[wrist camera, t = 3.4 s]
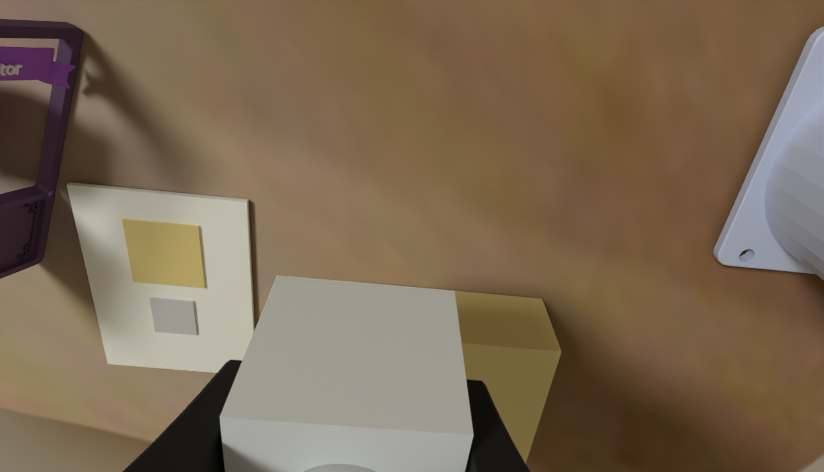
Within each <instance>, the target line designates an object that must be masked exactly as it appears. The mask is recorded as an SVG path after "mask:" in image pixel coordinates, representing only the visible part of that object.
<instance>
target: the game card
mask: <svg viewBox="0 0 824 472" xmlns="http://www.w3.org/2000/svg"><path fill="white" fill-rule="evenodd" d="M0 38H46V39H59V46H58V52H57V59H56V62H54V61H53V56H54V50H55V49H54V48H25V47H0V81H7V80H39V81H42V82H45V83H48V84H52V91H51V97H50V103H49V110H48V116H47V122H46V129H45V135H44V141H43V148H42V154H41V161H40V167H39V173H38V180H37V183H36V185H34V186H31V187H27V188H23V189H19V190H15V191H11V192H7V193H3V194H0V279H1V278H3V277H6V276H8V275H11V274H13V273H16V272H19V271H21V270H24V269H26V268H29V267H31V266H34V265H36V264H38V263H40V262H41V261H42V259H43V257H44V252H45V246H46V240H47V235H48V229H49V223H50V218H51V212H52V206H53V201H54V195H55V189H56V184H57V178H58V172H59V167H60V161H61V156H62V150H63V144H64V139H65V133H66V127H67V122H68V116H69V110H70V105H71V99H72V93H73V88H74V82H75V76H76V71H77V65H78V60H79V54H80V48H81V43H82V32H81V30H79V29H78V28H76V27H75V26H73V25H71V24H70V23H68V22H52V21H31V20H9V19H0Z"/></svg>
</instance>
